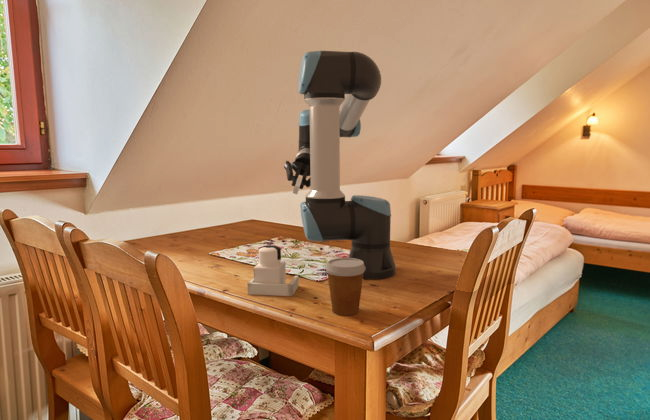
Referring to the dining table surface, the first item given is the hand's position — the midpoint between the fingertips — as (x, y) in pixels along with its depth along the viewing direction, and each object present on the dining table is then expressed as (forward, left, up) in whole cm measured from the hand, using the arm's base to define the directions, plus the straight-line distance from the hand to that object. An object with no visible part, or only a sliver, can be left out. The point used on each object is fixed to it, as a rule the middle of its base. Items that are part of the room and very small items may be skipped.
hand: (296, 189), depth 150 cm
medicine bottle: (+3, +22, -25) cm, 34 cm away
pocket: (+2, +23, -25) cm, 34 cm away
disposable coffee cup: (-19, +35, -25) cm, 48 cm away
